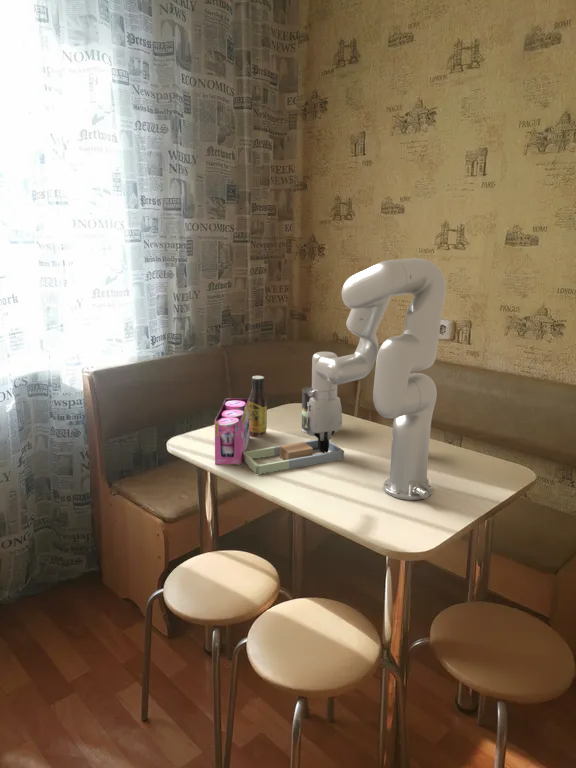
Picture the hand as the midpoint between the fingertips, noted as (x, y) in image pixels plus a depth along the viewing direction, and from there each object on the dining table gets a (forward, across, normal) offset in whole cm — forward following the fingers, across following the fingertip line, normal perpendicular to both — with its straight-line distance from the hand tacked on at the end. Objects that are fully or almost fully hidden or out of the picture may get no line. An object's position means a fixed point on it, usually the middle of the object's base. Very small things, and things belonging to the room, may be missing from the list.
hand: (323, 451), depth 178 cm
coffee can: (+1, +8, +20) cm, 22 cm away
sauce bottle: (+1, -12, +24) cm, 27 cm away
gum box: (+1, -24, +14) cm, 28 cm away
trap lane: (+1, -10, 0) cm, 10 cm away
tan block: (+1, -9, 0) cm, 9 cm away
